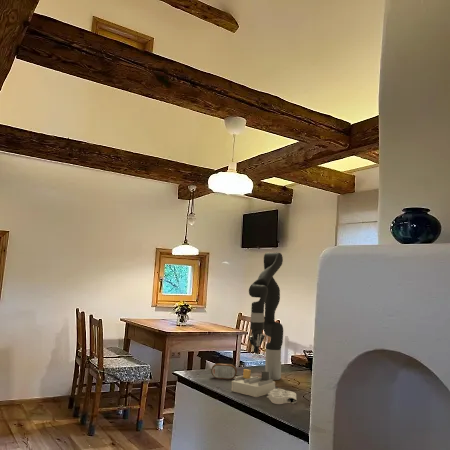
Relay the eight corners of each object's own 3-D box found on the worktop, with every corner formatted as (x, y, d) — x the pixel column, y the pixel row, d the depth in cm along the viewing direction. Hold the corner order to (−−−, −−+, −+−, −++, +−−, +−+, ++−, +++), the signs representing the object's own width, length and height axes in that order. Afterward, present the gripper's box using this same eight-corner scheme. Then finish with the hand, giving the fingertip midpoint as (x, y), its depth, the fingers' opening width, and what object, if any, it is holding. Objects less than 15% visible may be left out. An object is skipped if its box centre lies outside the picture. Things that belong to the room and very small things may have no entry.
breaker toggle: (245, 378, 241) (245, 368, 241) (251, 379, 238) (252, 369, 239) (241, 379, 239) (242, 369, 239) (248, 380, 236) (248, 370, 236)
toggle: (263, 380, 238) (263, 370, 239) (270, 381, 236) (270, 371, 236) (259, 380, 236) (260, 371, 237) (266, 382, 233) (267, 372, 234)
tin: (236, 378, 262) (237, 364, 263) (236, 380, 259) (236, 365, 260) (211, 377, 264) (211, 362, 265) (210, 378, 261) (211, 363, 262)
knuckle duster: (296, 406, 211) (265, 403, 214) (296, 396, 229) (267, 394, 231) (296, 399, 212) (265, 396, 214) (296, 390, 229) (268, 387, 232)
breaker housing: (250, 385, 246) (250, 373, 247) (274, 391, 236) (275, 378, 237) (231, 391, 233) (231, 378, 234) (256, 397, 223) (257, 383, 224)
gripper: (258, 319, 256) (257, 351, 253) (244, 320, 245) (243, 353, 243) (269, 321, 251) (268, 352, 249) (255, 322, 241) (254, 355, 239)
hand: (256, 353), depth 246 cm, fingers closed
